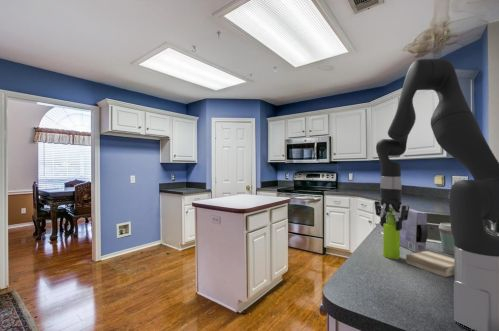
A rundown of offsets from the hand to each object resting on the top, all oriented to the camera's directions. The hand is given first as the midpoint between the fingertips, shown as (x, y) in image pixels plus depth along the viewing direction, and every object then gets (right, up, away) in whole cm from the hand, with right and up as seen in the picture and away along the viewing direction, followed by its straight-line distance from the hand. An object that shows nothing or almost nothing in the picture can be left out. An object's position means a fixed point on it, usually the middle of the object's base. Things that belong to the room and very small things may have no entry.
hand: (390, 228), depth 98 cm
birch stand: (+11, -11, -10) cm, 19 cm away
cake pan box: (+15, -12, +12) cm, 23 cm away
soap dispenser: (0, -12, 0) cm, 12 cm away
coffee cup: (+29, -12, +5) cm, 32 cm away
